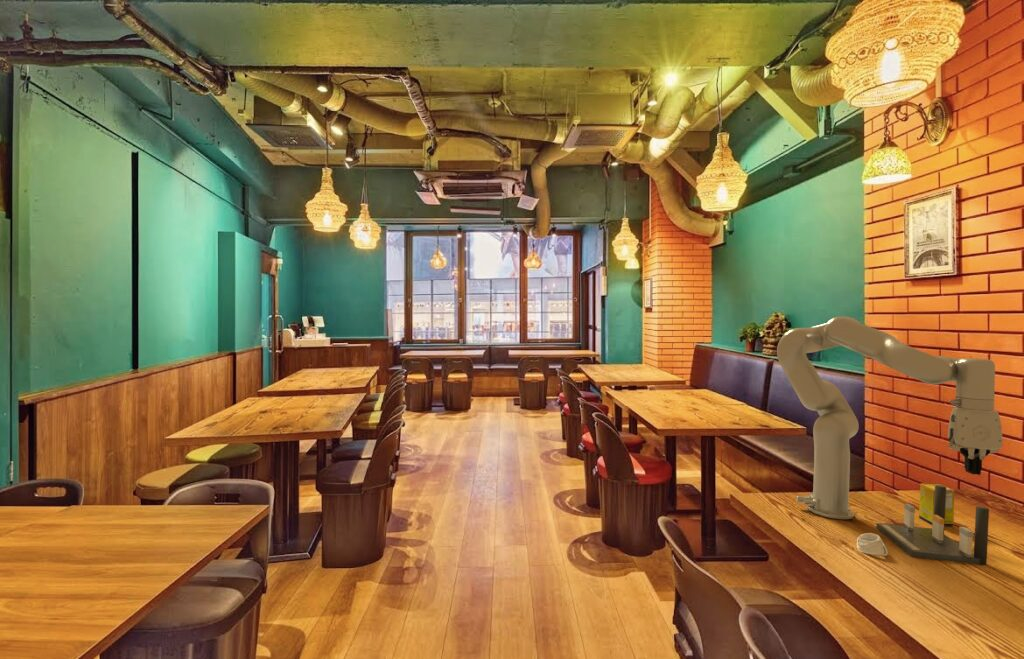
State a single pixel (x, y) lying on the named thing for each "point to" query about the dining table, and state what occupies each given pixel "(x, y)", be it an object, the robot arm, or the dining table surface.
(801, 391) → the robot arm
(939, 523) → the cream block orange end
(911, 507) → the beige flat bar
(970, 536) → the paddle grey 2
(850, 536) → the dining table surface
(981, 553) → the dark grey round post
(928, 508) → the supplement box
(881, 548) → the grey hollow teardrop piece
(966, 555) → the panel
